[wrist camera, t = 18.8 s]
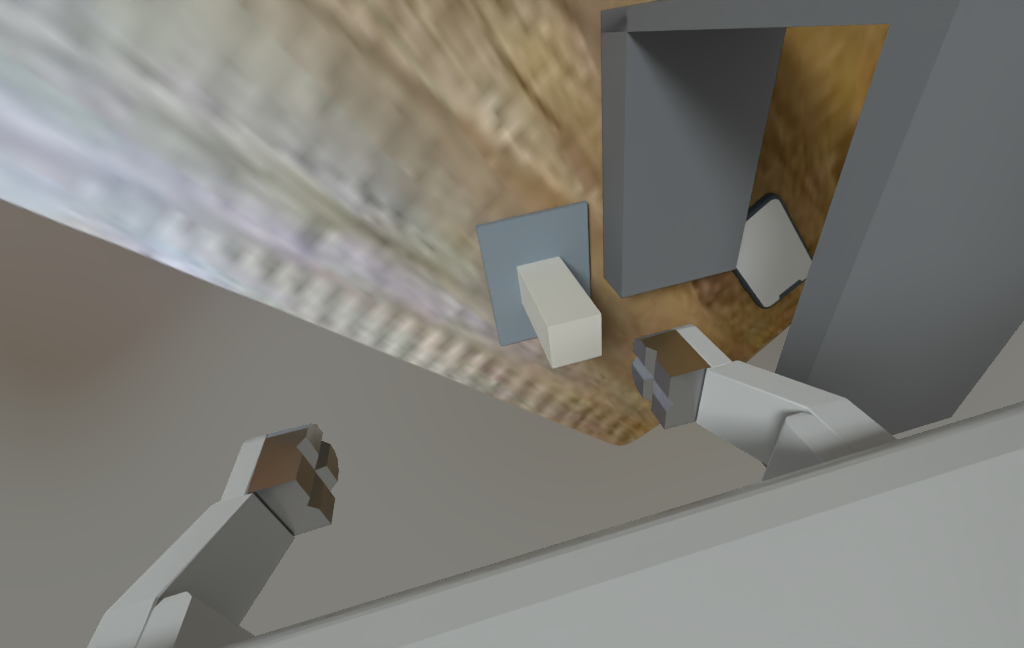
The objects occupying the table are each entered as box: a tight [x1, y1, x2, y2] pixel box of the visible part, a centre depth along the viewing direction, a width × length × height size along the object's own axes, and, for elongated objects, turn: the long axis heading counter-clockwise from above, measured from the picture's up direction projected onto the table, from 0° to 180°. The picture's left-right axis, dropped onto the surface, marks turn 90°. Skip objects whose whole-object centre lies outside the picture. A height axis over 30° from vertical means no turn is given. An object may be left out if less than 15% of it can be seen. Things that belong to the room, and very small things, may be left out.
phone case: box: [732, 193, 813, 309], centre depth 53 cm, size 9×2×16 cm
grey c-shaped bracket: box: [601, 0, 1024, 468], centre depth 32 cm, size 26×14×28 cm, turn 9°
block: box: [517, 257, 602, 369], centre depth 43 cm, size 5×5×12 cm
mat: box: [476, 201, 590, 346], centre depth 48 cm, size 16×12×1 cm
